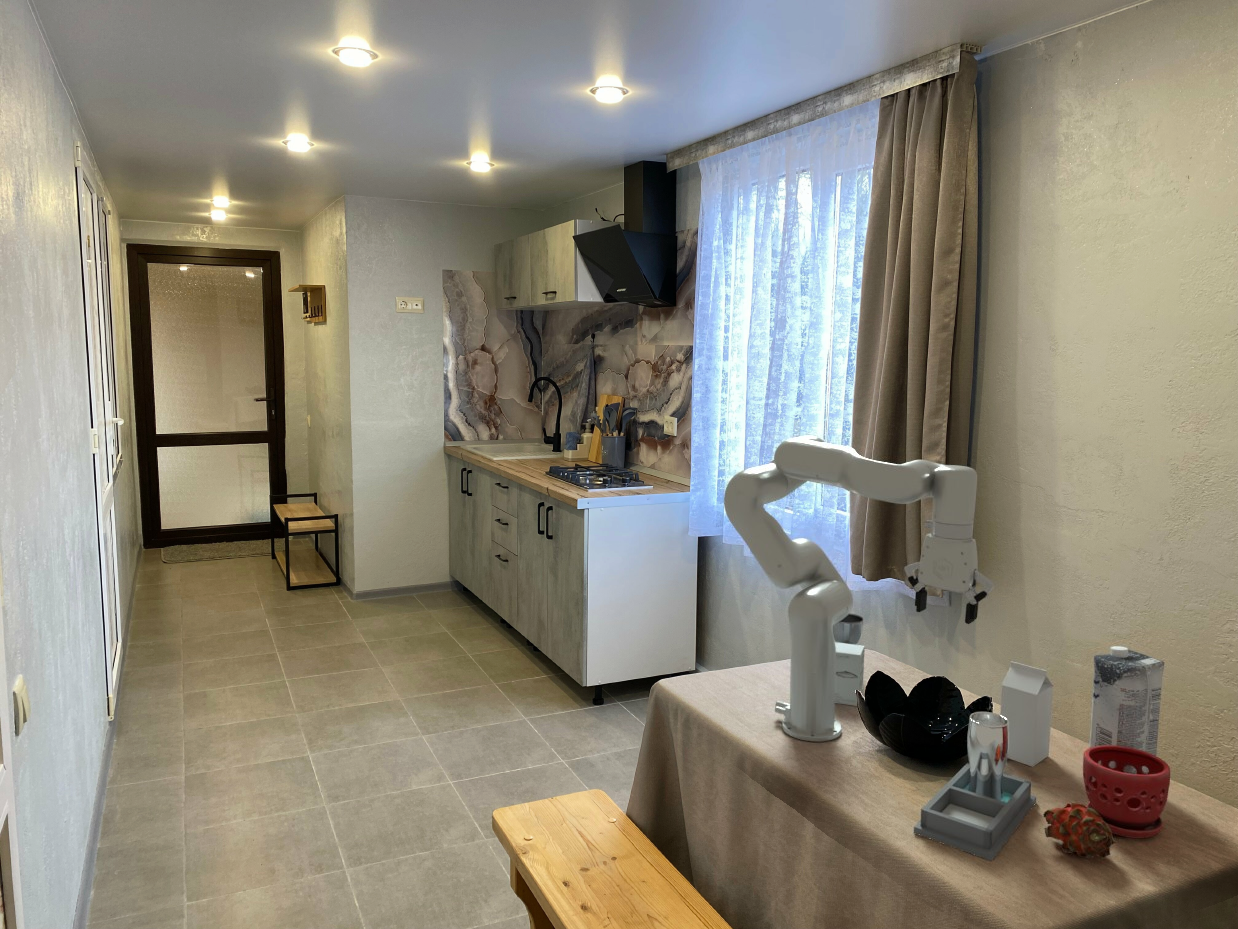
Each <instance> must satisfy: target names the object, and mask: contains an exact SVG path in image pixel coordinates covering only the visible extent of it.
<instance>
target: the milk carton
mask: <svg viewBox="0 0 1238 929" xmlns="http://www.w3.org/2000/svg"><path fill="white" fill-rule="evenodd" d="M1009 666H1010V667H1009V669H1008V670H1007V673H1006V675H1005V677H1004V679H1003V681H1002V684H1001V692H1000V693H1001V694H1000V695H1001V696H1000V713H999V715H1002V716H1004V717H1005V718H1007V719H1008V720H1009V753H1008V758H1007V759H1009V760H1013V761H1015V762H1017V763H1021V764H1024V765H1026V766H1029V767H1035V766H1036V765H1037V764H1039V763H1041V762H1042V761H1044V760H1045V759H1046V758H1048V757H1049V754H1050V742H1051V726H1052V723H1051V722H1052V709H1053V708H1052V707H1053V691H1054V688H1053V687H1054V685H1053V684H1052V682H1051V680H1050V679H1049V678H1048V676H1047V674H1048V673H1047V670H1046V669H1042V668H1038V667H1036V666H1035V667H1034V666H1030V665H1027V664H1023V663H1019V662H1015V661H1012V660H1011V661H1010V665H1009Z"/></svg>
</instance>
